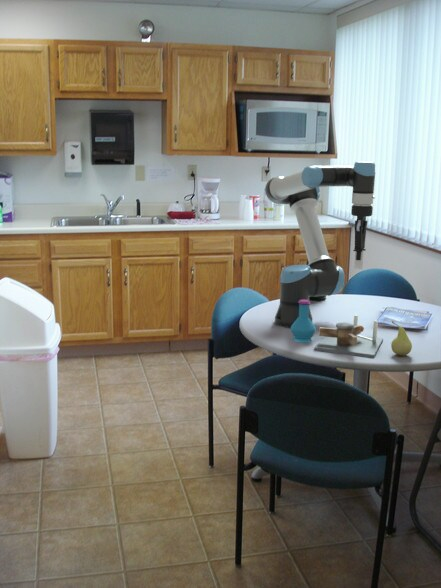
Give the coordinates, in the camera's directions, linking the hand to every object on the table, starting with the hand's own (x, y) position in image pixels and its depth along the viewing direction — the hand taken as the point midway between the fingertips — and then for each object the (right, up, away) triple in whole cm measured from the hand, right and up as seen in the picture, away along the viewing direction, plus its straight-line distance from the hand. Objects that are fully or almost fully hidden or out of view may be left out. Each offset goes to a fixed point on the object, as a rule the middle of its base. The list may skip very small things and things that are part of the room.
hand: (358, 268), depth 252 cm
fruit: (+12, -31, -15) cm, 36 cm away
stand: (-4, -28, -5) cm, 29 cm away
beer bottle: (-7, -12, +64) cm, 66 cm away
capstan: (-5, -27, -5) cm, 28 cm away
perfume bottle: (-21, -27, +1) cm, 34 cm away
